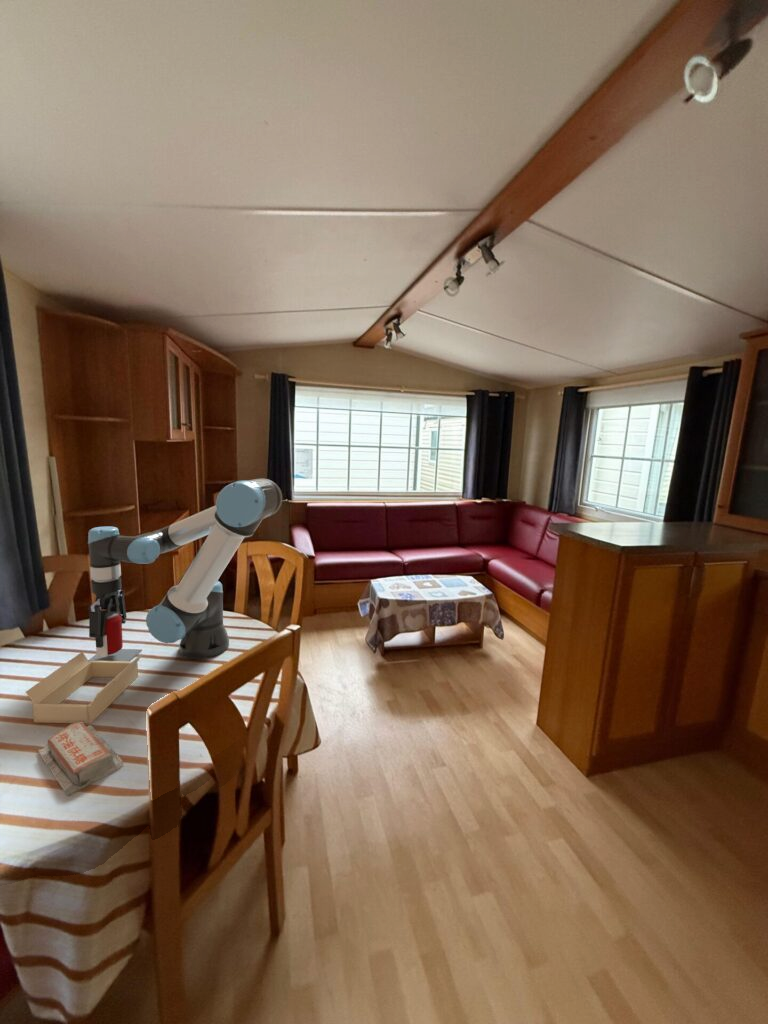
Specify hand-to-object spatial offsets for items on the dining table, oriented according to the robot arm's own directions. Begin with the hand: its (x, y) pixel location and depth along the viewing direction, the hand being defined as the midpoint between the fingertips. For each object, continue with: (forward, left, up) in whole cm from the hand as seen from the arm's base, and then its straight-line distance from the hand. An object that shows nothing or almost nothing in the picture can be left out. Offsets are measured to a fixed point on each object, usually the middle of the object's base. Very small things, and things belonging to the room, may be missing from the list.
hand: (110, 649), depth 126 cm
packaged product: (-19, +40, -4) cm, 45 cm away
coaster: (0, 0, -3) cm, 3 cm away
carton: (-7, +19, -3) cm, 20 cm away
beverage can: (0, 0, -1) cm, 1 cm away
